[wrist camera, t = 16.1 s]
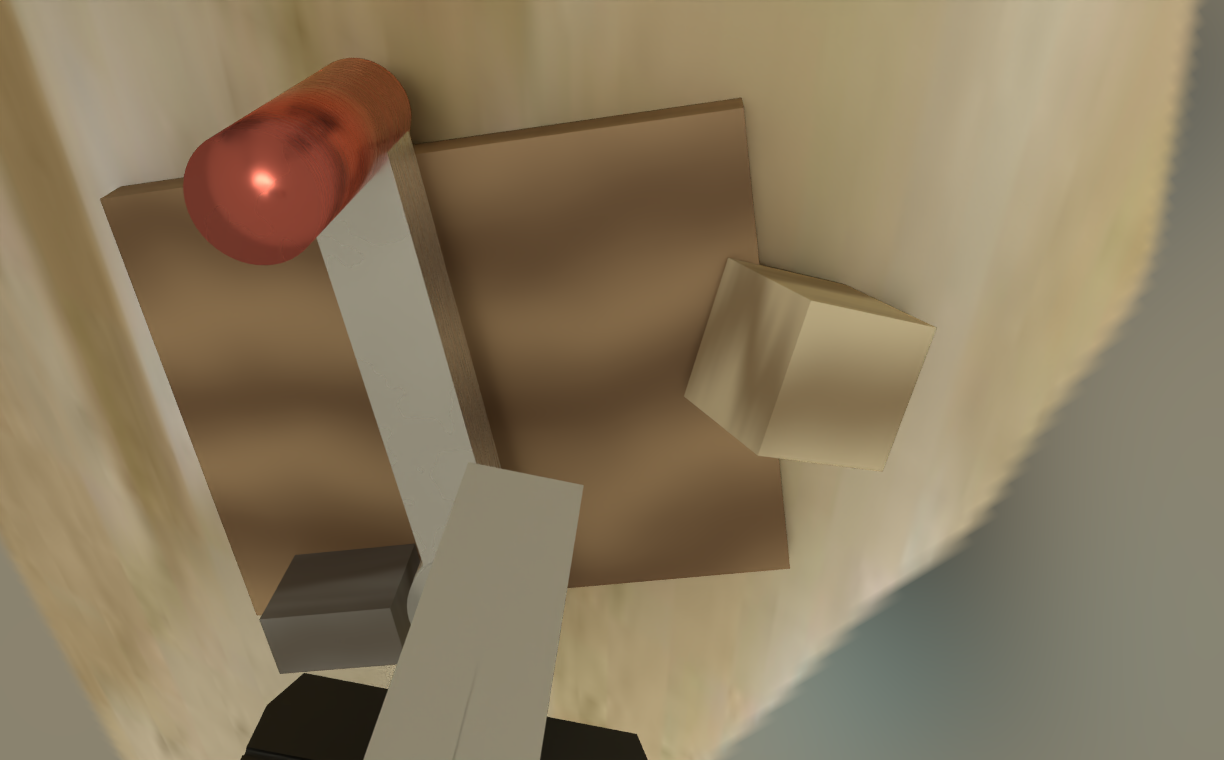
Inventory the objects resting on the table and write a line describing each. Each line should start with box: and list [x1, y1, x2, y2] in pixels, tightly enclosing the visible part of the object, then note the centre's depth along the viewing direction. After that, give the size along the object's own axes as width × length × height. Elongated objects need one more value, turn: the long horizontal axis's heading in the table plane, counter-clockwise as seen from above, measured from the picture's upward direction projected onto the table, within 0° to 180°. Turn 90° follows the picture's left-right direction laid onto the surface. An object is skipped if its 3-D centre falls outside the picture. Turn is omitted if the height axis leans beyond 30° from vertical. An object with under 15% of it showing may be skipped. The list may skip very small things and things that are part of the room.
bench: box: [100, 98, 790, 674], centre depth 37 cm, size 18×22×8 cm
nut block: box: [684, 258, 936, 472], centre depth 35 cm, size 5×5×5 cm
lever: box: [183, 58, 501, 624], centre depth 32 cm, size 21×5×9 cm, turn 11°
